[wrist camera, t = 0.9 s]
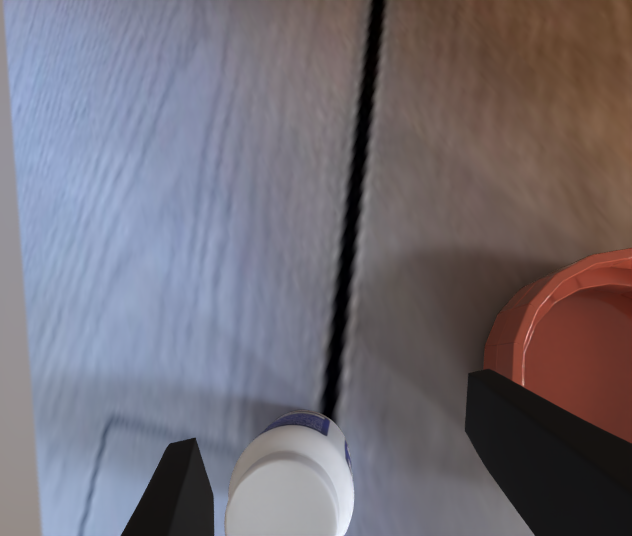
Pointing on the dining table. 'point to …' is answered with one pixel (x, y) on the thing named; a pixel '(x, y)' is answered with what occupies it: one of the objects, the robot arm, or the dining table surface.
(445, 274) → the dining table surface
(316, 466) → the pill bottle
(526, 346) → the bowl
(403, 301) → the dining table surface
